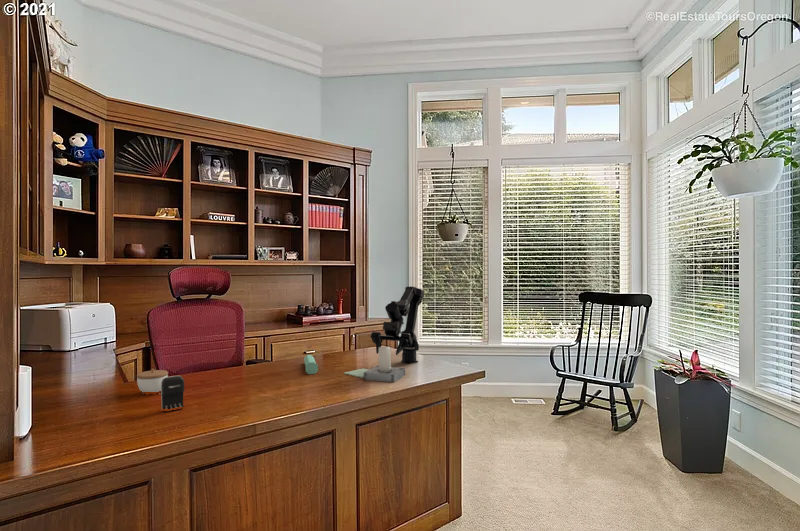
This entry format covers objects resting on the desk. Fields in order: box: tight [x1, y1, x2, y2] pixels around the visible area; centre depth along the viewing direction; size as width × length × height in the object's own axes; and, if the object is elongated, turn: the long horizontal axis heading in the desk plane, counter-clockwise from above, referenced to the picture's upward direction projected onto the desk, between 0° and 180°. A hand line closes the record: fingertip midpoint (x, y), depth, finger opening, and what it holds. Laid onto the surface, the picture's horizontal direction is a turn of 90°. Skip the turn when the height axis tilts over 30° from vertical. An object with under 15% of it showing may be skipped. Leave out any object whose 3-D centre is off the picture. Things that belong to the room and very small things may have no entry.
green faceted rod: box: [303, 354, 319, 375], centre depth 225 cm, size 6×6×25 cm
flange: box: [363, 365, 406, 383], centre depth 206 cm, size 14×14×3 cm
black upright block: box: [160, 375, 185, 409], centre depth 160 cm, size 7×4×11 cm, turn 129°
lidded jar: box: [136, 368, 169, 393], centre depth 182 cm, size 11×11×9 cm
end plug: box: [378, 346, 392, 372], centre depth 206 cm, size 5×5×13 cm
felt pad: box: [343, 368, 370, 379], centre depth 213 cm, size 12×12×1 cm
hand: (386, 353), depth 208 cm, fingers open, 9 cm apart
